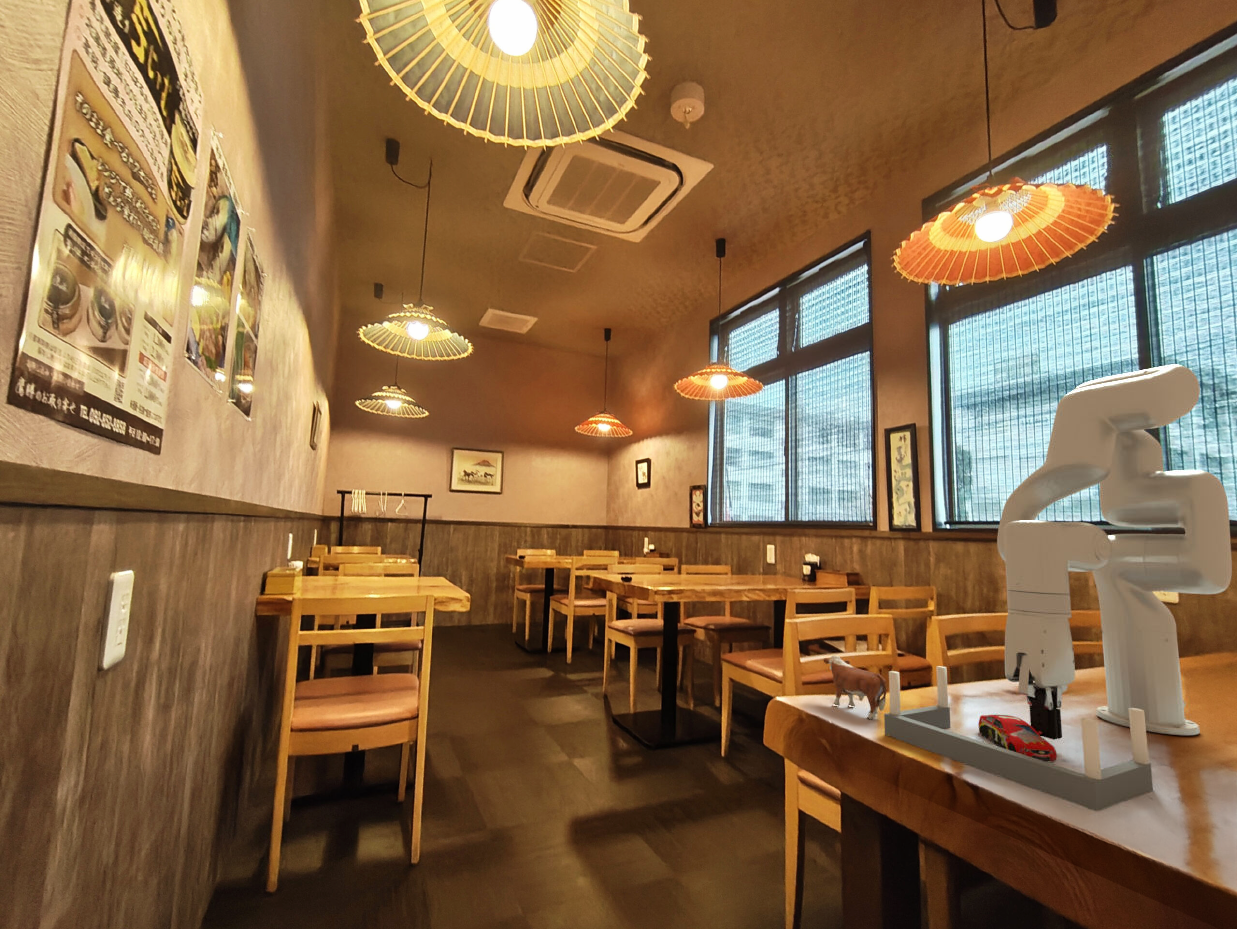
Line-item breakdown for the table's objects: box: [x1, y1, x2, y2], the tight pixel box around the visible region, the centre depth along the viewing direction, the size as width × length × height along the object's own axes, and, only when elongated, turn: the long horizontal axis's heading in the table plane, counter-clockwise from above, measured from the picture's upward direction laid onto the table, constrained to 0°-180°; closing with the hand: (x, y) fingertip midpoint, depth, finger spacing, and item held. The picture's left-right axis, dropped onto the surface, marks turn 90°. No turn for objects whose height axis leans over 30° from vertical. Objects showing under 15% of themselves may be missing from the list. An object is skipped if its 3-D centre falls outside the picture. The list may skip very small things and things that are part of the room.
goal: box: [883, 665, 1154, 812], centre depth 76 cm, size 14×26×9 cm, turn 28°
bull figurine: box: [823, 654, 887, 720], centre depth 97 cm, size 4×13×8 cm, turn 18°
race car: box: [978, 714, 1058, 763], centre depth 81 cm, size 13×5×4 cm, turn 171°
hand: (1046, 735), depth 80 cm, fingers closed
